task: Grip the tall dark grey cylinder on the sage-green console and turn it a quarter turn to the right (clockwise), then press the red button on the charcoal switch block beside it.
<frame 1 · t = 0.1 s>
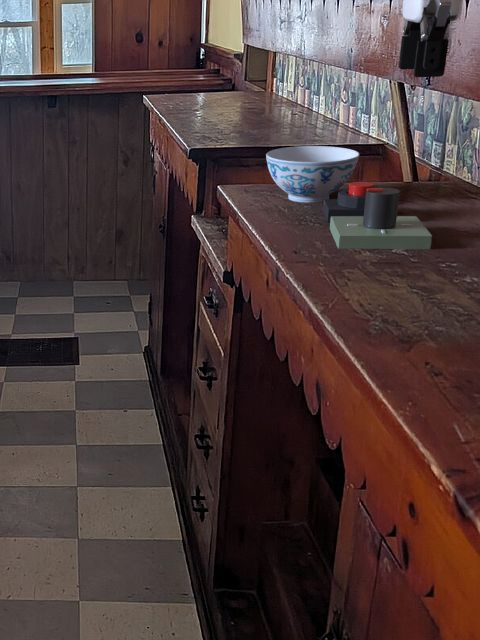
hand: (419, 72, 105), 24 cm above the worktop, tool pointing down, fingers open, 9 cm apart
dark grey cylinder: (381, 207, 124), point 5 cm above the worktop, hinge at 0.0°
button: (361, 189, 135), point 4 cm above the worktop, slide at 0.1 cm
switch block: (358, 217, 137), on the worktop
chinaware: (308, 199, 150), on the worktop
console: (377, 238, 125), on the worktop
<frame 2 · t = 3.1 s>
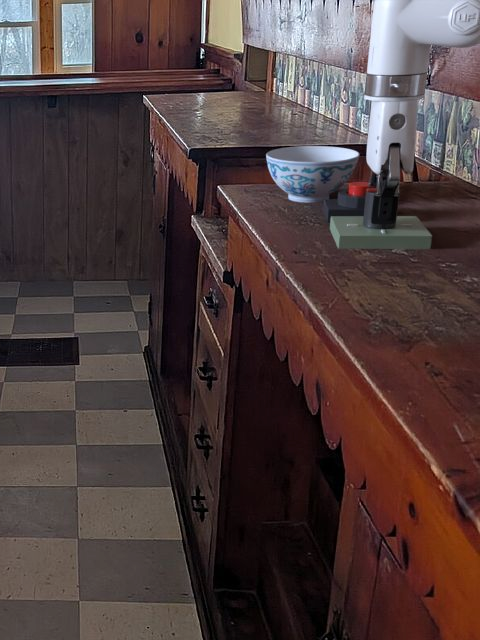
hand: (379, 217, 124), 3 cm above the worktop, tool pointing down, fingers closed on dark grey cylinder, 4 cm apart
dark grey cylinder: (381, 207, 124), point 5 cm above the worktop, hinge at -0.1°, touching gripper
everything else where it was.
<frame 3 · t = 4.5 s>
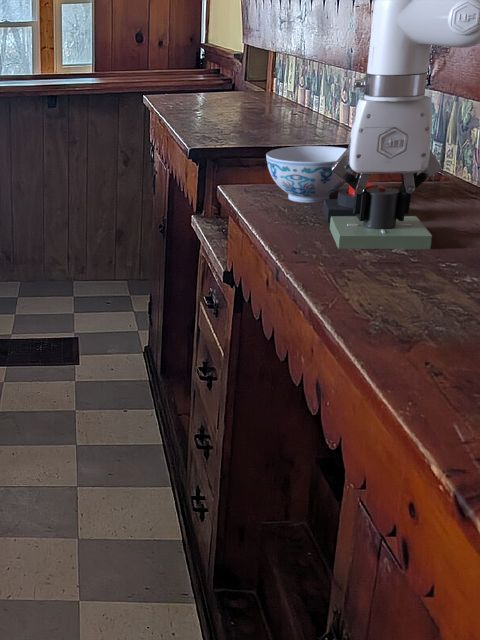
hand: (379, 217, 124), 3 cm above the worktop, tool pointing down, fingers closed on dark grey cylinder, 4 cm apart
dark grey cylinder: (381, 207, 124), point 5 cm above the worktop, hinge at -90.0°, touching gripper
everything else where it was.
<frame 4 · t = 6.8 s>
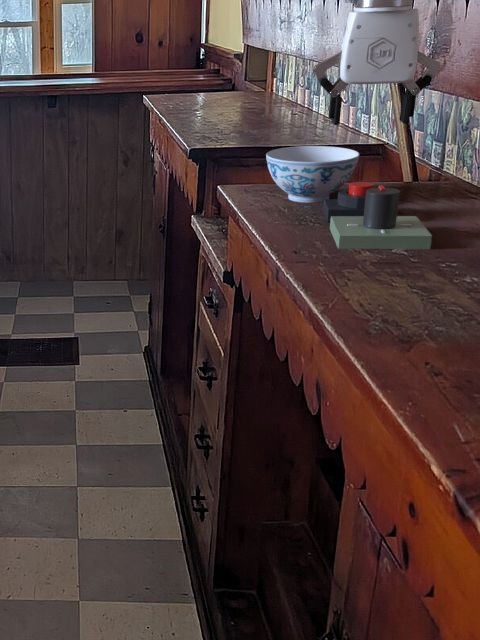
hand: (369, 122, 129), 15 cm above the worktop, tool pointing down, fingers open, 9 cm apart
dark grey cylinder: (381, 207, 124), point 5 cm above the worktop, hinge at -90.0°
everything else where it was.
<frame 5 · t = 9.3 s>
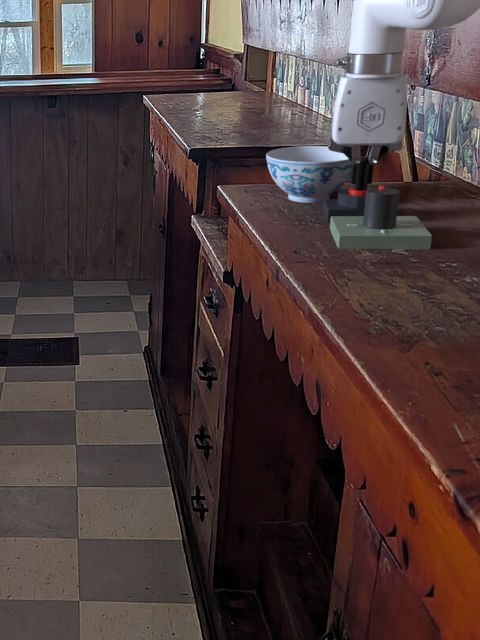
hand: (360, 188, 135), 5 cm above the worktop, tool pointing down, fingers closed
button: (360, 194, 135), point 4 cm above the worktop, slide at -0.6 cm, touching gripper
everything else where it was.
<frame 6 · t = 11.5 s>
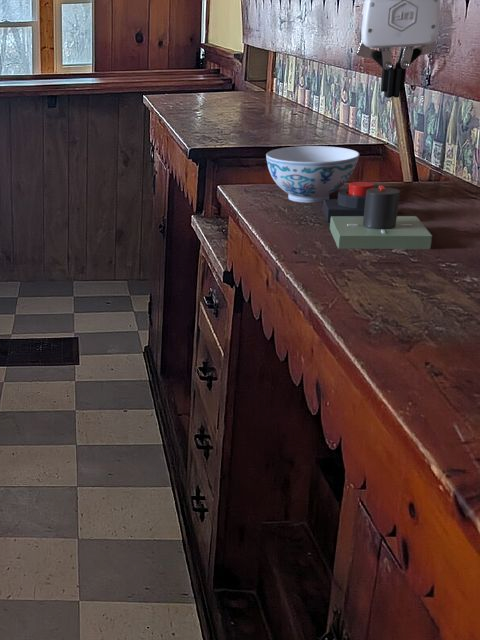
hand: (391, 96, 129), 19 cm above the worktop, tool pointing down, fingers closed
button: (361, 189, 135), point 4 cm above the worktop, slide at 0.1 cm
everything else where it was.
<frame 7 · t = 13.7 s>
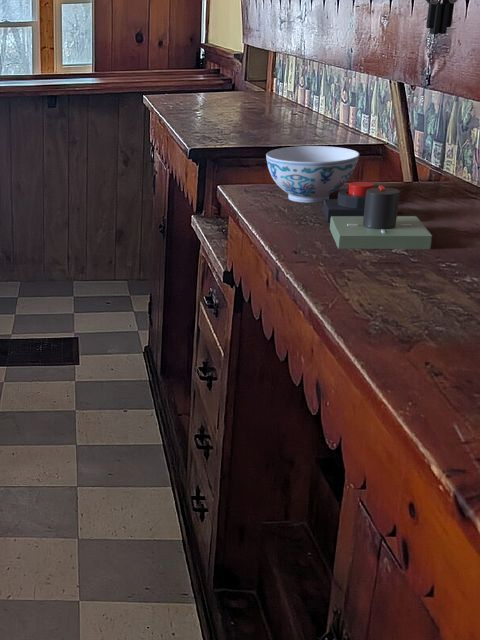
hand: (437, 33, 124), 27 cm above the worktop, tool pointing down, fingers closed
nothing on the worktop moved.
at the end: dark grey cylinder at -90° (first picture: +0°); button pushed in 1.1 cm at the most during the clip, back to where it started at the end; button slide at 0.1 cm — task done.
